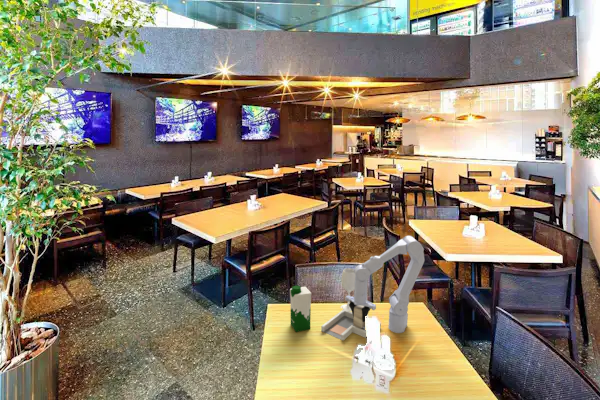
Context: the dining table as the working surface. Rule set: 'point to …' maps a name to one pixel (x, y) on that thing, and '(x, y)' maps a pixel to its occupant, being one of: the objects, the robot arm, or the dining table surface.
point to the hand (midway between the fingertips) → (359, 319)
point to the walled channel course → (342, 326)
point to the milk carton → (300, 308)
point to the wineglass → (348, 284)
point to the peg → (358, 317)
